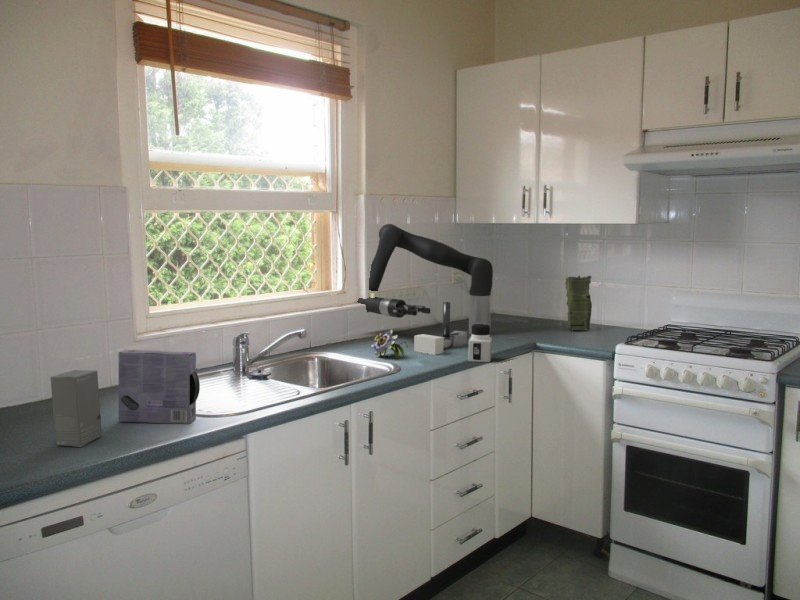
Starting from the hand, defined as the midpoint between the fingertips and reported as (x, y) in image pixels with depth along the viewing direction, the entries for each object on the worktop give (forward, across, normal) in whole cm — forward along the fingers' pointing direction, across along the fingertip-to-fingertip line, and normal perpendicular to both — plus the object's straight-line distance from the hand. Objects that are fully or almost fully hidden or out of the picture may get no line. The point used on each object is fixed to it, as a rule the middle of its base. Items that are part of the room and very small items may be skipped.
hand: (423, 311), depth 266 cm
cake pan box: (+15, -123, +15) cm, 124 cm away
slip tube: (+12, +2, +13) cm, 18 cm away
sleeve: (+12, +7, +13) cm, 19 cm away
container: (+34, -9, +13) cm, 37 cm away
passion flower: (+6, -27, +14) cm, 30 cm away
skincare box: (+15, -143, +15) cm, 144 cm away
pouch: (+31, +75, +12) cm, 82 cm away
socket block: (+12, -11, +13) cm, 20 cm away
